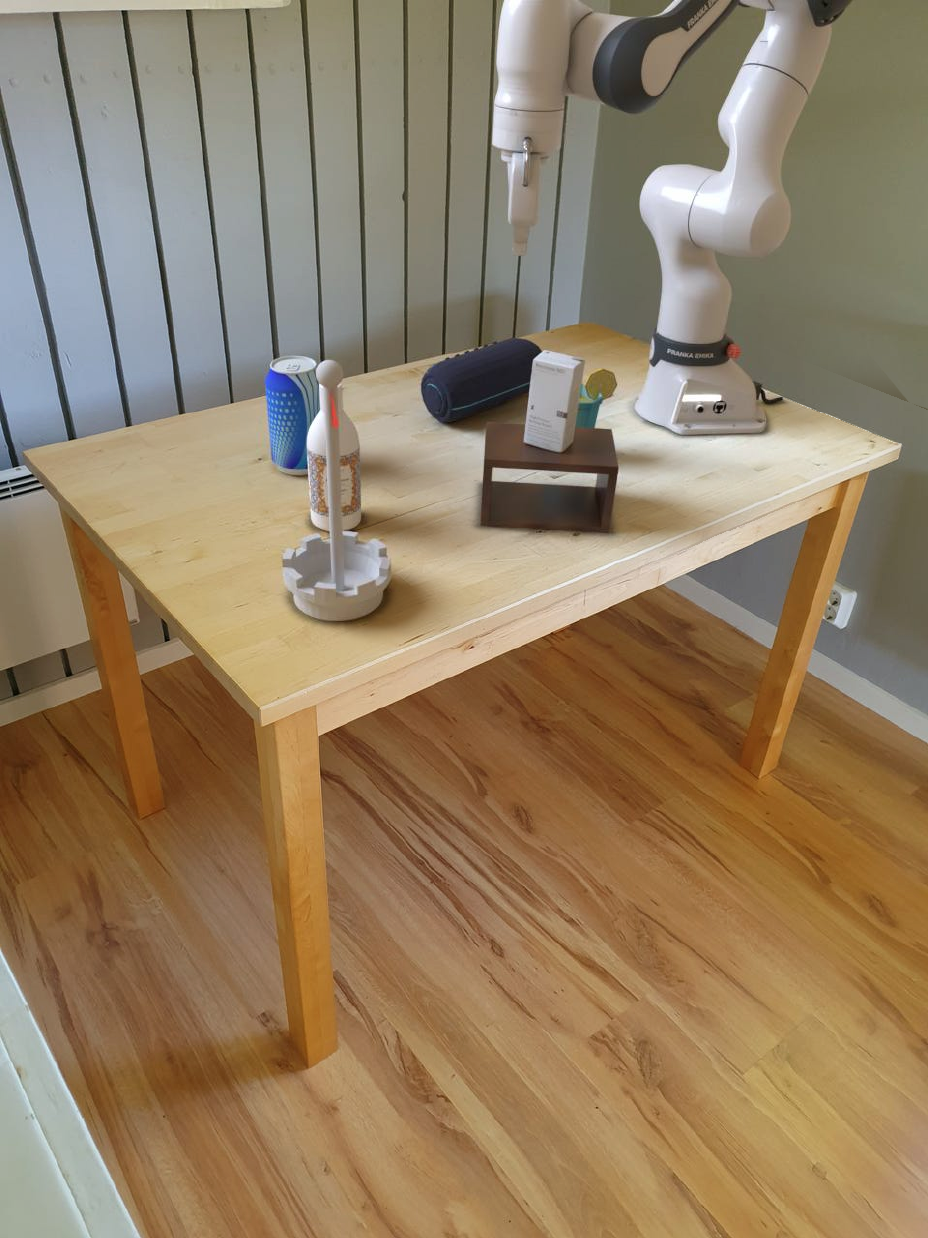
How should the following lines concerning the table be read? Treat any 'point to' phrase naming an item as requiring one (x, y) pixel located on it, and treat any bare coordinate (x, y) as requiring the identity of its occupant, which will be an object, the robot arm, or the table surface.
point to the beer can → (291, 410)
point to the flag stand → (336, 541)
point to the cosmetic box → (553, 400)
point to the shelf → (549, 501)
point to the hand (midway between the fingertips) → (519, 244)
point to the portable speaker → (479, 379)
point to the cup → (594, 396)
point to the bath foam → (347, 468)
